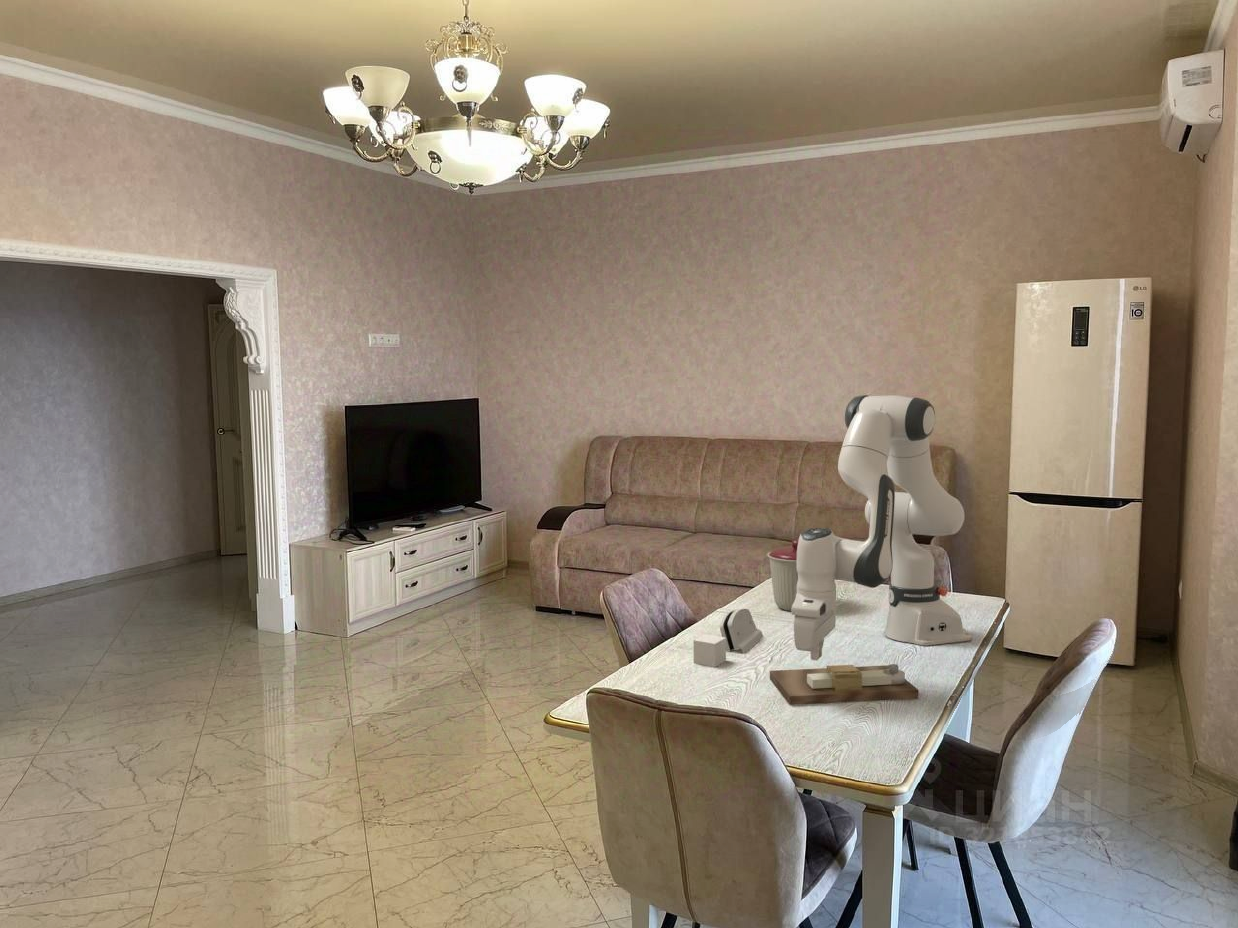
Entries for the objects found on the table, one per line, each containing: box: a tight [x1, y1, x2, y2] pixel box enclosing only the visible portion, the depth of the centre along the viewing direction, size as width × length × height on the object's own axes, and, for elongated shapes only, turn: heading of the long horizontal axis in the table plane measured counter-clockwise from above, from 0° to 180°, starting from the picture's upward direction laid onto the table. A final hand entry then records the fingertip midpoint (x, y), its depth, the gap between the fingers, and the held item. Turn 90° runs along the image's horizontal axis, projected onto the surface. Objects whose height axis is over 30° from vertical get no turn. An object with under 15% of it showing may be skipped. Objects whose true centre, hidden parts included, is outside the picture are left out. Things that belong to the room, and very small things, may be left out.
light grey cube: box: [693, 633, 727, 668], centre depth 230 cm, size 6×6×6 cm
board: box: [769, 664, 920, 706], centre depth 210 cm, size 29×17×2 cm, turn 95°
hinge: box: [719, 608, 764, 654], centre depth 245 cm, size 17×5×10 cm, turn 154°
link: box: [807, 663, 906, 689], centre depth 207 cm, size 22×5×4 cm, turn 96°
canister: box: [766, 538, 799, 612], centre depth 279 cm, size 18×18×21 cm
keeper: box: [826, 664, 862, 692], centre depth 205 cm, size 6×6×4 cm
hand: (816, 658), depth 211 cm, fingers closed
